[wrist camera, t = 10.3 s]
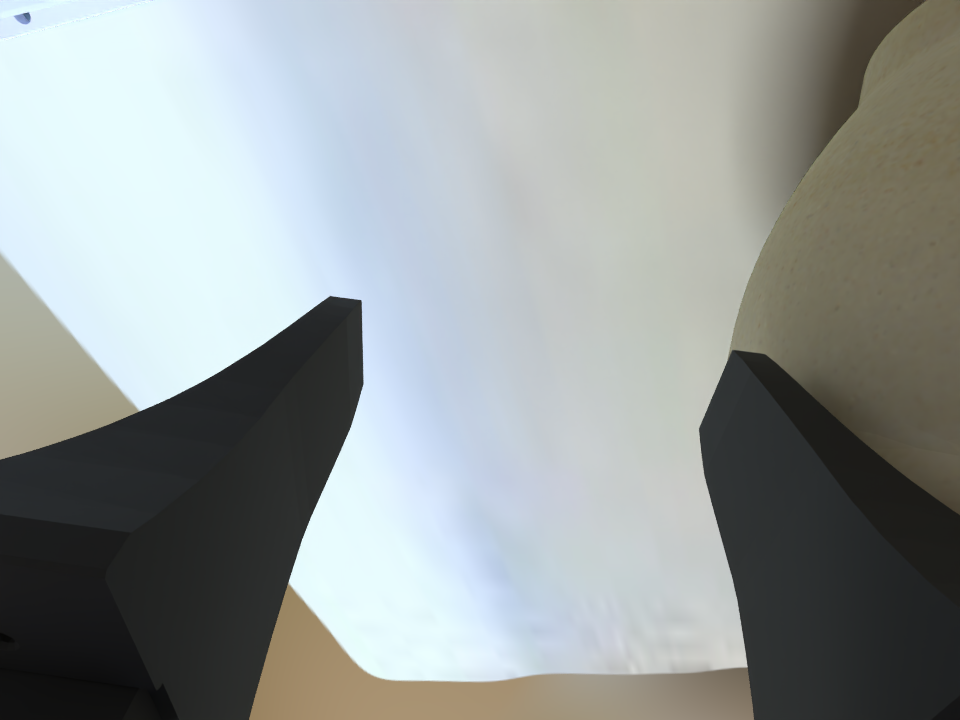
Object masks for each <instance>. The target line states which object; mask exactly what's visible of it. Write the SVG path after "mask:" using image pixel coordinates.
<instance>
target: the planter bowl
mask: <svg viewBox="0 0 960 720" xmlns="http://www.w3.org/2000/svg"><path fill="white" fill-rule="evenodd" d="M732 350H739V351H747V352H754V353H762V354H766V355H767V356H768V357H769V358H771V359H772V360H773V361H774V362H776V363H777V364H778V365H779V366H780V367H781V368H782V369H784V370H785V371H786V372H787V373H788V374H789V375H790V376H791V377H792V378H793V379H795V380H796V381H797V382H798V383H799V384H800V385H801V386H802V387H803V388H804V389H805V390H806V391H807V392H809V393H810V394H811V395H812V396H813V397H814V398H815V399H816V400H817V401H818V402H819V403H820V404H821V405H823V406H824V407H825V408H826V409H827V410H828V411H829V412H830V413H831V414H832V415H833V416H835V417H836V418H837V419H838V420H839V421H840V422H841V423H842V424H843V425H845V426H846V427H847V428H848V429H849V430H850V431H851V432H852V433H854V434H855V435H856V436H857V437H858V438H859V439H861V440H862V441H863V442H864V443H865V444H866V445H868V446H869V447H870V448H871V449H872V450H874V451H875V452H876V453H877V454H879V455H880V456H881V457H882V458H883V459H885V460H886V461H887V462H888V463H889V464H891V465H892V466H893V467H894V468H896V469H897V470H898V471H899V472H901V473H902V474H903V475H905V476H906V477H907V478H909V479H910V480H911V481H913V482H914V483H915V484H917V485H918V486H919V487H921V488H922V489H924V490H925V491H926V492H928V493H929V494H931V495H932V496H933V497H935V498H936V499H938V500H939V501H940V502H942V503H943V504H945V505H946V506H947V507H949V508H950V509H952V510H953V511H955V512H956V513H958V514H959V515H960V0H927V1H925V2H924V3H923V4H921V5H920V6H919V7H917V8H916V9H915V10H913V11H912V12H911V13H910V14H908V15H907V16H906V17H905V18H904V19H903V20H902V21H901V22H900V23H899V24H897V25H896V26H895V27H894V28H893V29H892V30H891V32H890V33H889V34H888V35H887V36H886V37H885V38H884V39H883V41H882V42H881V43H880V45H879V46H878V48H877V49H876V51H875V52H874V54H873V56H872V57H871V59H870V61H869V64H868V66H867V69H866V72H865V75H864V80H863V85H862V90H861V95H860V100H859V105H858V108H857V110H856V111H855V112H854V113H853V114H852V115H851V117H850V118H849V119H848V120H847V121H846V122H845V123H844V125H843V126H842V127H841V128H840V129H839V130H838V132H837V133H836V134H835V135H834V137H833V138H832V139H831V141H830V142H829V143H828V144H827V146H826V147H825V148H824V150H823V151H822V152H821V154H820V155H819V156H818V157H817V159H816V160H815V162H814V163H813V164H812V166H811V167H810V169H809V170H808V172H807V173H806V174H805V176H804V177H803V179H802V180H801V182H800V184H799V185H798V187H797V188H796V190H795V191H794V193H793V195H792V196H791V198H790V199H789V201H788V203H787V204H786V206H785V208H784V210H783V211H782V213H781V215H780V217H779V218H778V220H777V222H776V224H775V226H774V227H773V229H772V231H771V233H770V235H769V237H768V239H767V241H766V243H765V244H764V246H763V249H762V251H761V253H760V255H759V258H758V260H757V262H756V265H755V267H754V270H753V272H752V274H751V277H750V279H749V282H748V284H747V288H746V291H745V294H744V297H743V300H742V303H741V306H740V309H739V313H738V316H737V320H736V323H735V327H734V332H733V336H732V341H731V346H730V351H729V356H728V359H729V357H730V354H731V352H732Z"/></svg>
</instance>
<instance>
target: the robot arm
mask: <svg viewBox="0 0 960 720" xmlns="http://www.w3.org/2000/svg"><path fill="white" fill-rule="evenodd" d="M150 1H153V0H0V40H7V39H11V38H15V37H19V36H22V35H26V34H30V33H34V32H37V31H41V30H45V29H49V28H52V27H56V26H60V25H64V24H67V23H71V22H75V21H79V20H82V19H86V18H90V17H94V16H97V15H101V14H105V13H109V12H112V11H116V10H120V9H124V8H127V7H131V6H135V5H138V4H142V3H146V2H150ZM27 12H29V14H30V17H31V20H30V21H29V20H27V19H26V18H25V16H24V15H23V13H27ZM362 387H363V344H362V302H361V300H355V299H348V298H340V297H333V296H330V297H328V298H327V299H325V300H324V301H322V302H321V303H320V304H318V305H317V306H316V307H314V308H313V309H312V310H310V311H309V312H308V313H306V314H305V315H303V316H302V317H301V318H299V319H298V320H297V321H295V322H294V323H293V324H291V325H290V326H289V327H287V328H286V329H284V330H283V331H282V332H280V333H279V334H277V335H276V336H274V337H273V338H272V339H270V340H269V341H267V342H266V343H265V344H263V345H262V346H260V347H259V348H257V349H255V350H254V351H252V352H251V353H249V354H248V355H246V356H244V357H243V358H241V359H240V360H238V361H236V362H235V363H233V364H232V365H230V366H228V367H227V368H225V369H224V370H222V371H221V372H219V373H217V374H215V375H214V376H212V377H210V378H208V379H206V380H205V381H203V382H201V383H199V384H197V385H195V386H193V387H191V388H189V389H187V390H185V391H184V392H182V393H180V394H178V395H176V396H174V397H172V398H170V399H167V400H165V401H163V402H161V403H159V404H156V405H154V406H152V407H149V408H147V409H145V410H142V411H140V412H138V413H135V414H133V415H130V416H128V417H126V418H123V419H121V420H119V421H116V422H114V423H112V424H109V425H107V426H104V427H101V428H99V429H96V430H93V431H90V432H87V433H85V434H82V435H79V436H76V437H73V438H70V439H67V440H64V441H61V442H58V443H55V444H52V445H49V446H46V447H43V448H40V449H36V450H33V451H30V452H26V453H23V454H20V455H16V456H12V457H9V458H5V459H1V460H0V720H249V717H250V713H251V709H252V705H253V702H254V698H255V694H256V691H257V687H258V684H259V680H260V676H261V673H262V669H263V666H264V662H265V659H266V655H267V652H268V648H269V645H270V641H271V638H272V634H273V631H274V627H275V624H276V621H277V618H278V614H279V611H280V608H281V605H282V601H283V598H284V594H285V591H286V588H287V585H288V582H289V579H290V575H291V572H292V569H293V566H294V563H295V560H296V557H297V554H298V551H299V547H300V544H301V541H302V538H303V536H304V533H305V531H306V528H307V526H308V523H309V521H310V518H311V516H312V514H313V511H314V509H315V507H316V505H317V502H318V500H319V498H320V496H321V493H322V491H323V489H324V487H325V484H326V482H327V480H328V478H329V475H330V473H331V471H332V469H333V467H334V464H335V462H336V460H337V458H338V455H339V453H340V451H341V448H342V446H343V444H344V442H345V439H346V437H347V435H348V432H349V430H350V428H351V425H352V421H353V418H354V415H355V412H356V408H357V405H358V401H359V398H360V394H361V390H362ZM699 433H700V443H701V453H702V461H703V468H704V475H705V479H706V483H707V487H708V491H709V494H710V498H711V502H712V506H713V509H714V513H715V517H716V520H717V524H718V528H719V531H720V535H721V538H722V542H723V546H724V549H725V553H726V556H727V560H728V564H729V567H730V571H731V574H732V578H733V583H734V587H735V591H736V596H737V600H738V606H739V612H740V619H741V625H742V631H743V638H744V644H745V650H746V658H747V665H748V673H749V681H750V688H751V696H752V703H753V713H754V720H960V515H959V514H958V513H956V512H955V511H953V510H952V509H950V508H949V507H947V506H946V505H945V504H943V503H942V502H940V501H939V500H938V499H936V498H935V497H933V496H932V495H931V494H929V493H928V492H926V491H925V490H924V489H922V488H921V487H919V486H918V485H917V484H915V483H914V482H913V481H911V480H910V479H909V478H907V477H906V476H905V475H903V474H902V473H901V472H899V471H898V470H897V469H896V468H894V467H893V466H892V465H891V464H889V463H888V462H887V461H886V460H885V459H883V458H882V457H881V456H880V455H879V454H877V453H876V452H875V451H874V450H872V449H871V448H870V447H869V446H868V445H866V444H865V443H864V442H863V441H862V440H861V439H859V438H858V437H857V436H856V435H855V434H854V433H852V432H851V431H850V430H849V429H848V428H847V427H846V426H845V425H843V424H842V423H841V422H840V421H839V420H838V419H837V418H836V417H835V416H833V415H832V414H831V413H830V412H829V411H828V410H827V409H826V408H825V407H824V406H823V405H821V404H820V403H819V402H818V401H817V400H816V399H815V398H814V397H813V396H812V395H811V394H810V393H809V392H807V391H806V390H805V389H804V388H803V387H802V386H801V385H800V384H799V383H798V382H797V381H796V380H795V379H793V378H792V377H791V376H790V375H789V374H788V373H787V372H786V371H785V370H784V369H782V368H781V367H780V366H779V365H778V364H777V363H776V362H774V361H773V360H772V359H771V358H769V357H768V356H767V355H766V354H762V353H754V352H747V351H739V350H732V352H731V354H730V357H729V359H728V361H727V364H726V366H725V369H724V371H723V373H722V376H721V378H720V380H719V383H718V385H717V388H716V390H715V392H714V395H713V397H712V399H711V402H710V404H709V407H708V409H707V411H706V414H705V416H704V418H703V421H702V423H701V425H700V428H699Z"/></svg>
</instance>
